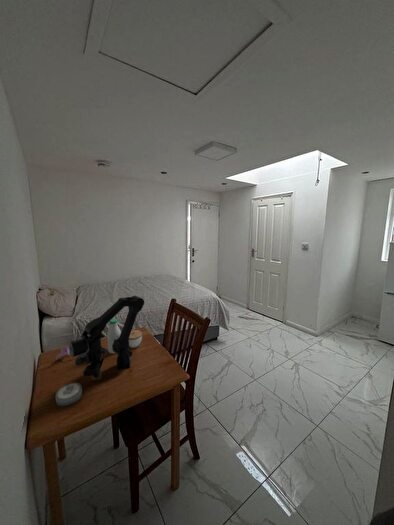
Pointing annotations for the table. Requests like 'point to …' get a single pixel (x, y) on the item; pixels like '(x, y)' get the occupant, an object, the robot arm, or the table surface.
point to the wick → (98, 376)
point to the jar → (68, 394)
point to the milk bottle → (112, 334)
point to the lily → (64, 352)
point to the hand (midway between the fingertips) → (96, 376)
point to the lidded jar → (135, 338)
